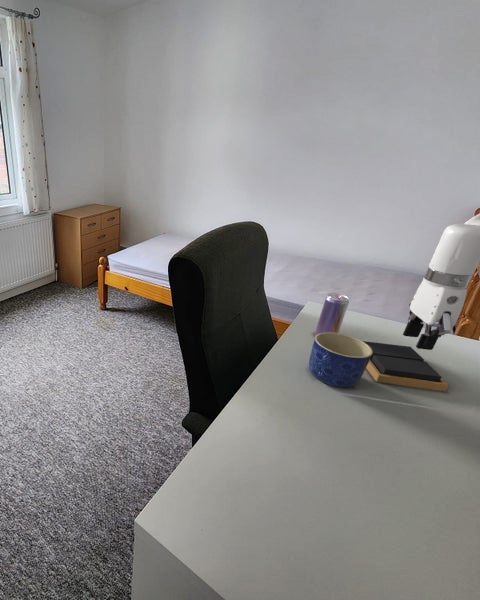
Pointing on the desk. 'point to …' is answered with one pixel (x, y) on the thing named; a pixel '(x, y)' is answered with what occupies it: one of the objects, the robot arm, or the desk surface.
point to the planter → (338, 359)
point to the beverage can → (332, 313)
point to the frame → (406, 380)
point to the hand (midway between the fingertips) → (417, 341)
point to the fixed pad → (393, 351)
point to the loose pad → (405, 368)
